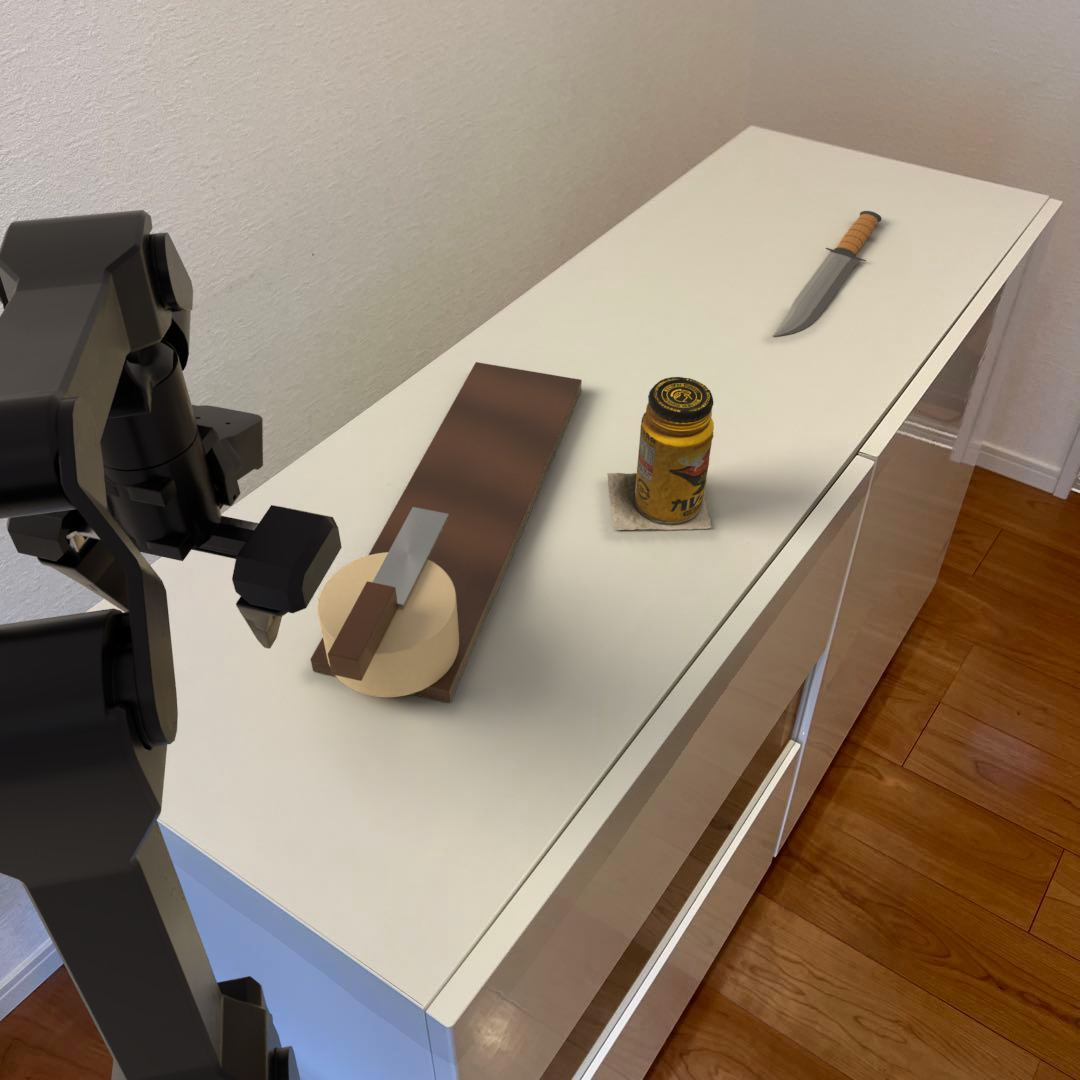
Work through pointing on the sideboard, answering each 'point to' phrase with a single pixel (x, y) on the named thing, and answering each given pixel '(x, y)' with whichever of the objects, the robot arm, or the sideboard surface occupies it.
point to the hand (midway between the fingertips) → (205, 627)
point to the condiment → (668, 461)
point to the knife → (828, 276)
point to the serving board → (482, 489)
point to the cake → (397, 628)
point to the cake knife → (385, 594)
